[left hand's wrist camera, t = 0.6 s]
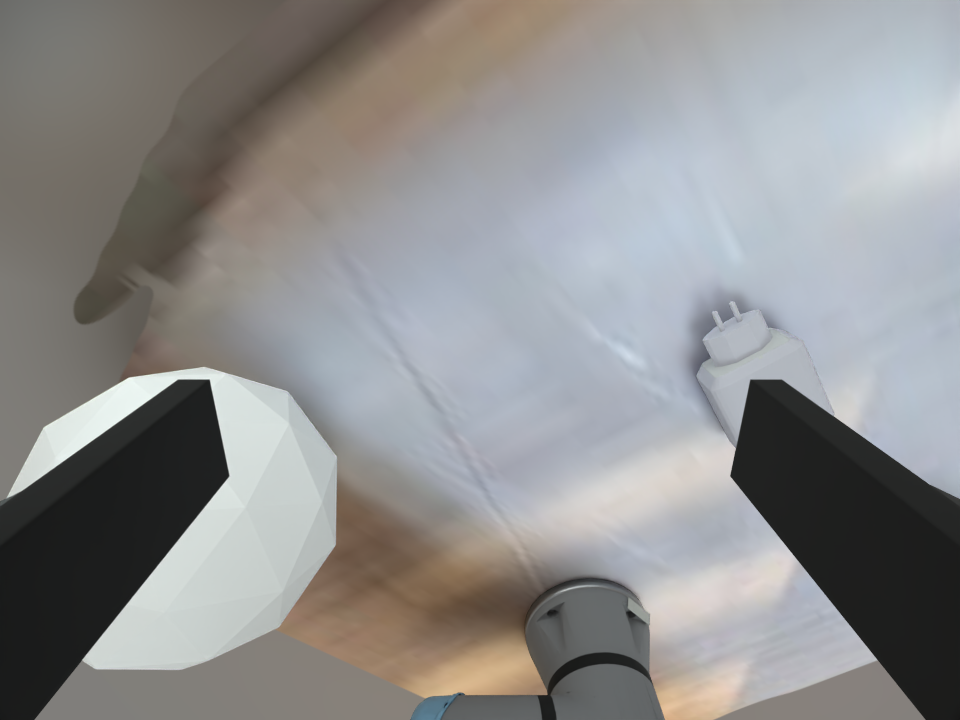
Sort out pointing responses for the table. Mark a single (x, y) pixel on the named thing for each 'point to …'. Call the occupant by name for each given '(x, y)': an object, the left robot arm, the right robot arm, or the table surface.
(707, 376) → the charger
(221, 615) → the decorative sphere
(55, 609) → the left robot arm
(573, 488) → the table surface
